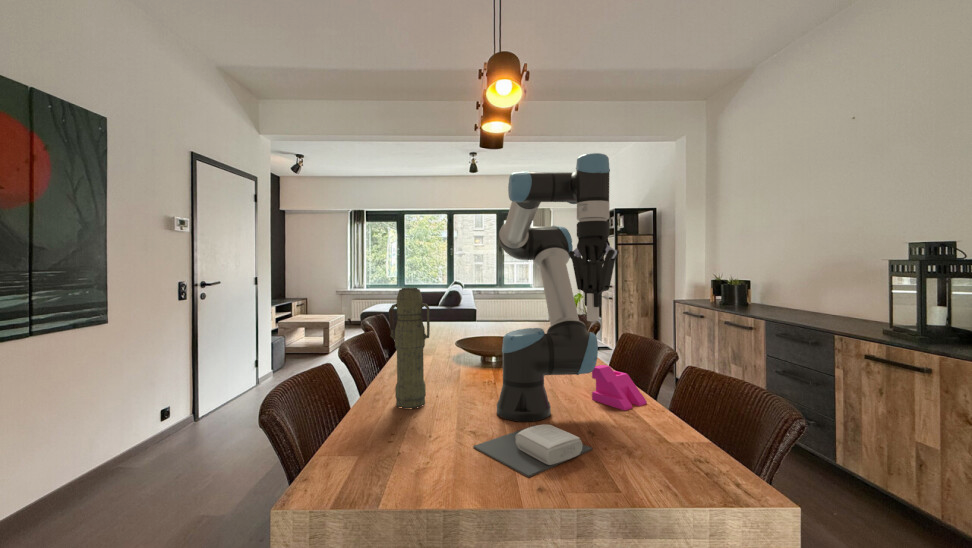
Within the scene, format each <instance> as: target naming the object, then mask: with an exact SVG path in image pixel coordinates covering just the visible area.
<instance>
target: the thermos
mask: <svg viewBox="0 0 972 548" xmlns="http://www.w3.org/2000/svg"><path fill="white" fill-rule="evenodd" d="M395 307H396V316H397V319H396V325H395V323H394V322H395V317H394V315H395V313H394V312H395V311H394V309H395ZM424 307H425V309H426V327H425V325H424V323H423V319H424V318H423V308H424ZM388 314H389V336H390V337H391V338H392V340H394V348H395V349H396V378H397V379H396V384H395V388H394V389H395V390H394V391H395V392H394V393H395V394H394V395H395V399H396V402H395V406H396V405H397V406H398V407H402V408H416V409H418V408H417V407H420V406H422V405H424V404H425V405H426V394H427V393H426V388H427V387H426V381H425V378H424V376H425V375H424V370H425V369H424V368H425V367H424V349H425V345H426V342H425V341H426V340H427V339H430V334H431V333H430V329H431V328H430V307H429V305H428V304H427V303H424V302H423V296H422V292H421V290H420V288H418V287H401V288H400V289H399V290H398V293H397V295H396V303H394V304H392V305H391V306H390V307H389V313H388ZM394 325H395V326H394ZM425 329H426V331H425ZM425 405H424V406H425ZM397 406H396V407H397ZM398 407H397V408H398ZM422 407H423V406H422ZM420 408H421V407H420Z"/></svg>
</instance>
